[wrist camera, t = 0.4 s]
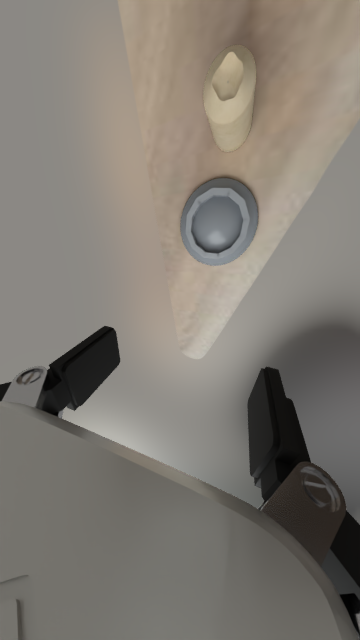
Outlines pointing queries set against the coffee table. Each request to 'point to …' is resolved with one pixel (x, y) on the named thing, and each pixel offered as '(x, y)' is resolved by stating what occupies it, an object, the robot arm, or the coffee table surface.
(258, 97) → the coffee table surface
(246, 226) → the candle dish
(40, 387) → the robot arm
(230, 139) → the candle
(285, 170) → the coffee table surface
